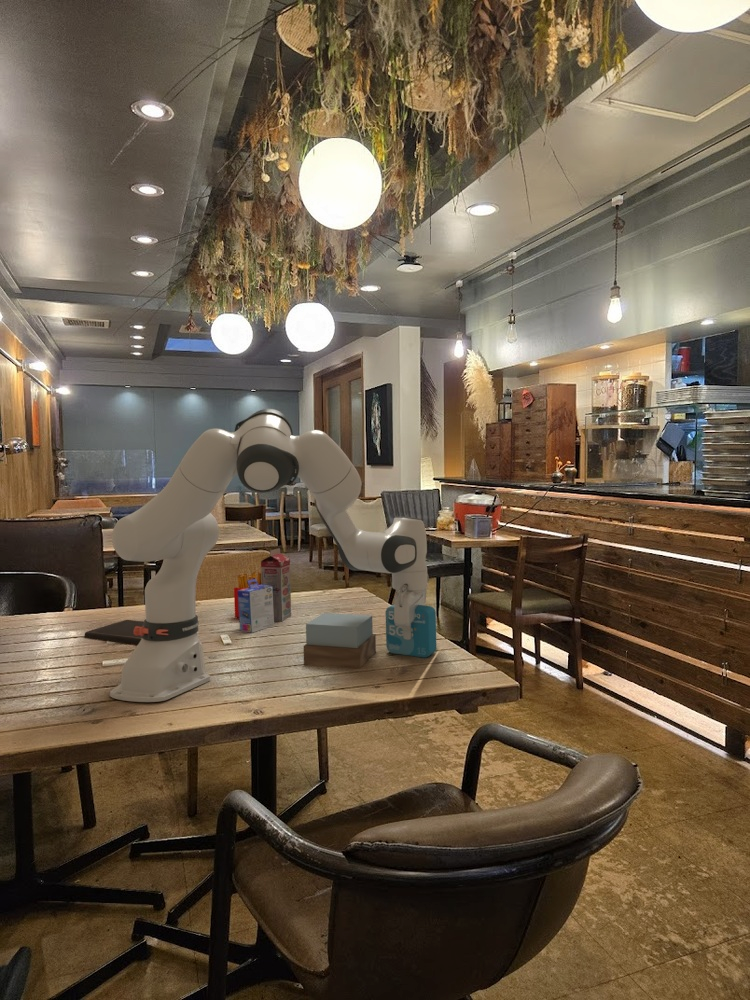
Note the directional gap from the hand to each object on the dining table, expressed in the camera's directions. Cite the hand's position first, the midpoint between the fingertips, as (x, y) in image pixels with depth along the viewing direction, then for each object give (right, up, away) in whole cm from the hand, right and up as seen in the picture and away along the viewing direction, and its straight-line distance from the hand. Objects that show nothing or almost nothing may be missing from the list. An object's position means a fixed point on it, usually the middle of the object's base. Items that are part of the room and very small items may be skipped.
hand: (410, 635), depth 163 cm
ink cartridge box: (-44, -4, +28) cm, 52 cm away
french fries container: (-48, -4, +42) cm, 63 cm away
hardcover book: (-78, -6, +23) cm, 81 cm away
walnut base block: (-17, -6, -2) cm, 18 cm away
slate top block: (-18, -1, -3) cm, 18 cm away
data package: (0, -5, 0) cm, 5 cm away
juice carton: (-40, -3, +39) cm, 56 cm away
